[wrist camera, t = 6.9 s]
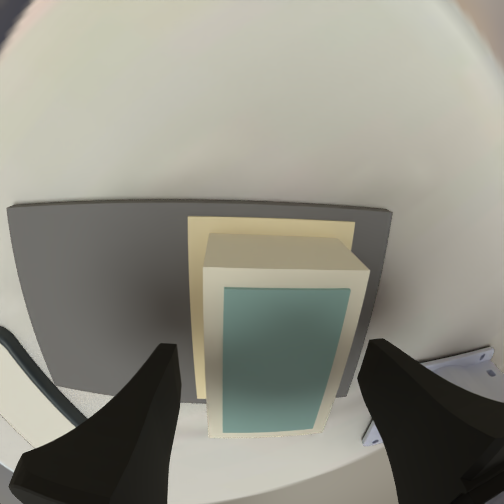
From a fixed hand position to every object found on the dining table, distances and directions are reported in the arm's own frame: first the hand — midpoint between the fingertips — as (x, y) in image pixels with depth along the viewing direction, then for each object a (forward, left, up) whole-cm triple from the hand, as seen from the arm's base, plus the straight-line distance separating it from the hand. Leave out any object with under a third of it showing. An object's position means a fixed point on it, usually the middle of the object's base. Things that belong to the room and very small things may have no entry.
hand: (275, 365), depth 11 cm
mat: (+4, 0, -3) cm, 5 cm away
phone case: (+15, +10, -4) cm, 19 cm away
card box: (0, 0, -3) cm, 3 cm away
